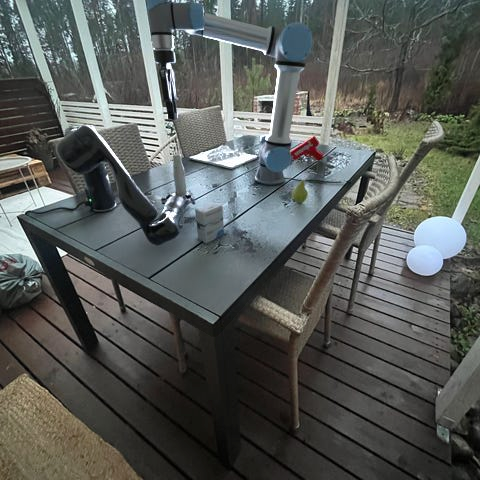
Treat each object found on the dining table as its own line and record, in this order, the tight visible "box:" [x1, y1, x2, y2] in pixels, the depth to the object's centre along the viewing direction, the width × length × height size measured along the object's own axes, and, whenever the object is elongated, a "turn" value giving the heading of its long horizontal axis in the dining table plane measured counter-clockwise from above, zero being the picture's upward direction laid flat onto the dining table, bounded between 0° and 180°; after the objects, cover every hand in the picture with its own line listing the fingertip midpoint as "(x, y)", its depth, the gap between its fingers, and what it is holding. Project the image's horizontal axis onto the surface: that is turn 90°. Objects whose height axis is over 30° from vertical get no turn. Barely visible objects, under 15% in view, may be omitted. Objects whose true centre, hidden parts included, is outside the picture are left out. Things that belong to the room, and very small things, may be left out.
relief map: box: [189, 144, 258, 170], centre depth 177 cm, size 27×35×5 cm
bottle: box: [172, 153, 190, 211], centre depth 111 cm, size 4×4×23 cm
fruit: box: [291, 174, 311, 204], centre depth 118 cm, size 7×8×12 cm
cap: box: [166, 111, 179, 120], centre depth 112 cm, size 4×4×2 cm
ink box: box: [194, 201, 225, 244], centre depth 94 cm, size 8×5×12 cm, turn 135°
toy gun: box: [290, 135, 324, 163], centre depth 172 cm, size 18×4×15 cm
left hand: (182, 191), depth 116 cm, fingers closed on bottle, 4 cm apart
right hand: (172, 118), depth 113 cm, fingers closed on cap, 4 cm apart
